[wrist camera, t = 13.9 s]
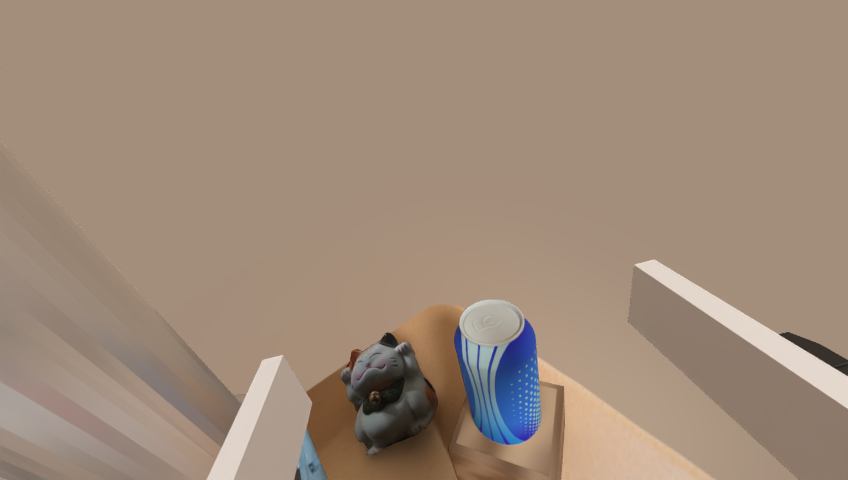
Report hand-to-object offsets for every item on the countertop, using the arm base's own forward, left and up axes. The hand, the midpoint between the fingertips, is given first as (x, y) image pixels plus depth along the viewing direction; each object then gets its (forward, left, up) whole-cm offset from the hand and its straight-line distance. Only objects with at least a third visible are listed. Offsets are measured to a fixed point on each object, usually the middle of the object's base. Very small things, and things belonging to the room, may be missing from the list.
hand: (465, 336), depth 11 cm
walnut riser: (-4, +15, -38) cm, 41 cm away
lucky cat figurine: (-24, +15, -38) cm, 47 cm away
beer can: (-4, +15, -30) cm, 34 cm away
